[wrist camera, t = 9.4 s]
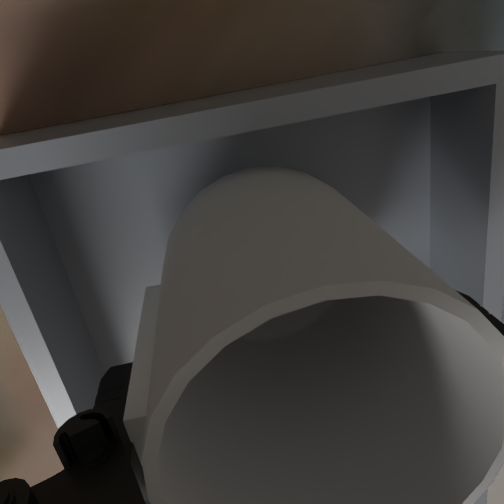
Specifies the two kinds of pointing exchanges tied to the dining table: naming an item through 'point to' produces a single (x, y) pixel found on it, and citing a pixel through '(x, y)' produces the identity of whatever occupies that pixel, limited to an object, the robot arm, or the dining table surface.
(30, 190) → the gray tray
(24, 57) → the dining table surface
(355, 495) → the cup
